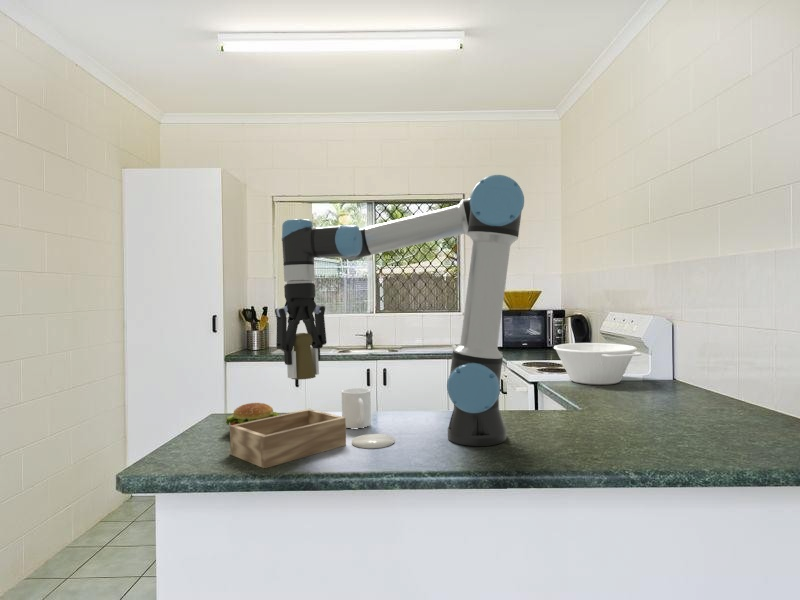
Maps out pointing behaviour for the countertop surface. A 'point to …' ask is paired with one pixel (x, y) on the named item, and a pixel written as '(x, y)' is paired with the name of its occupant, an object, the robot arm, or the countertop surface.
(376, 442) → the coaster
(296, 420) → the access box
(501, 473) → the countertop surface
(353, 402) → the mug
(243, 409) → the food
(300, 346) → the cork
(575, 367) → the pot
